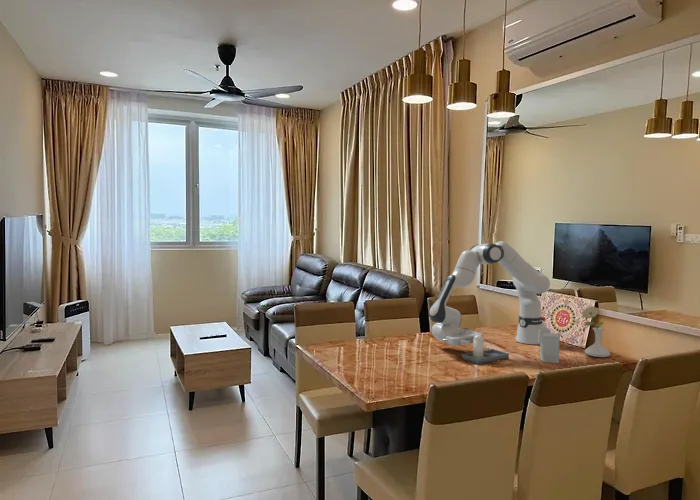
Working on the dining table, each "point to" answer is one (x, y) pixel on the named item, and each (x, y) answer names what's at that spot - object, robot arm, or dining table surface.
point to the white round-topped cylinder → (478, 346)
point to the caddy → (486, 356)
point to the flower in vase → (597, 347)
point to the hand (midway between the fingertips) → (475, 342)
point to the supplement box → (549, 347)
